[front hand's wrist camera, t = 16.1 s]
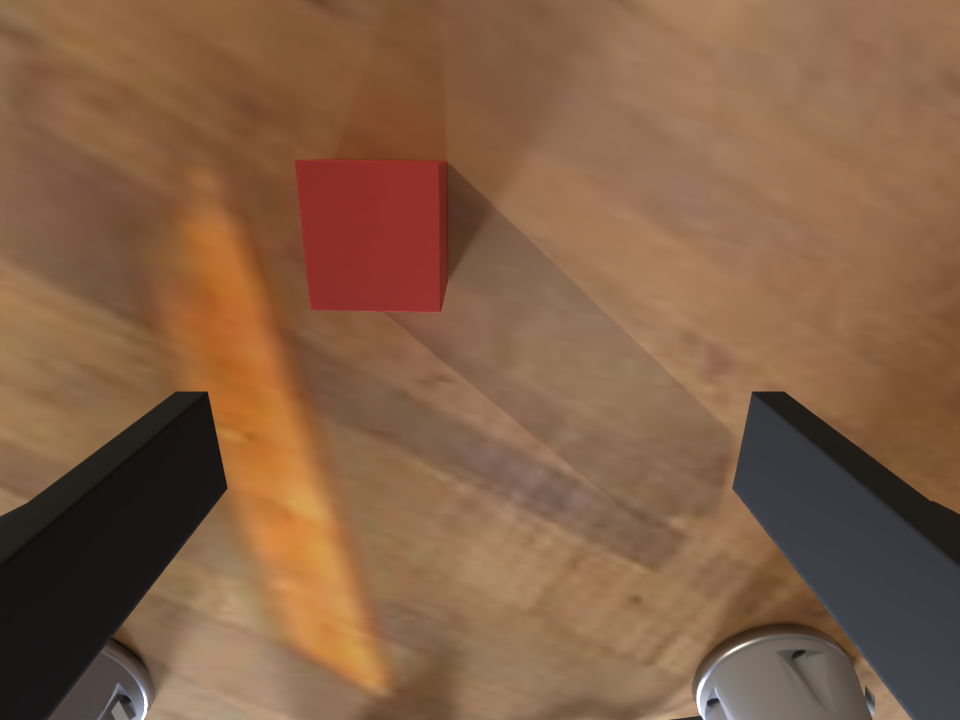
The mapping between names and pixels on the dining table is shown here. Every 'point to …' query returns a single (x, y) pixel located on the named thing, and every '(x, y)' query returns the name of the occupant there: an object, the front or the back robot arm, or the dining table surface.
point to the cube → (374, 234)
